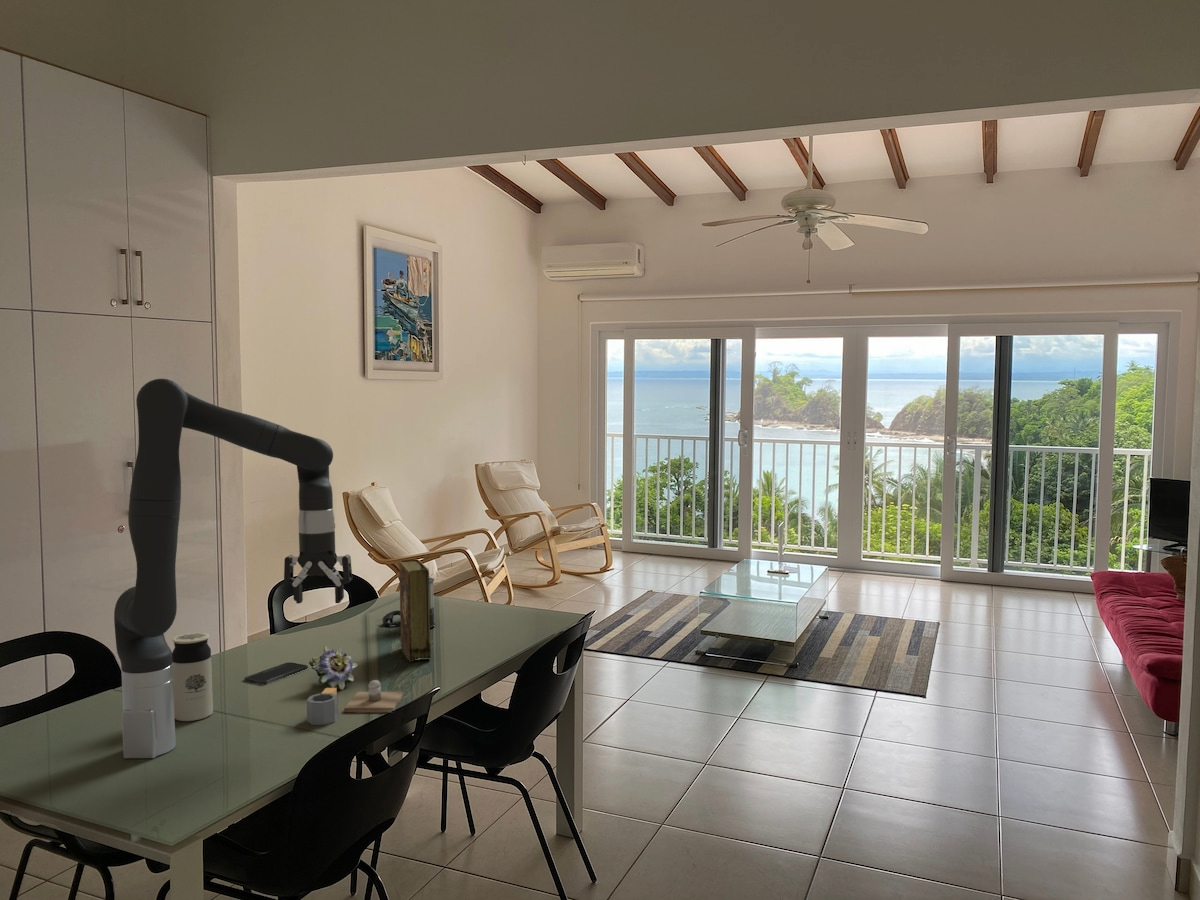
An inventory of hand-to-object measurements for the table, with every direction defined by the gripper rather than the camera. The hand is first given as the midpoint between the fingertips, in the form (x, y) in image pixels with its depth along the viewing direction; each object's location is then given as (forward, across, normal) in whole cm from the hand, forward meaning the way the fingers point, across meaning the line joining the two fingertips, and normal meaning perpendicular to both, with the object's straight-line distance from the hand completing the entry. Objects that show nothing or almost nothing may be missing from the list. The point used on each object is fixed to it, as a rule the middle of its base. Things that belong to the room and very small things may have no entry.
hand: (319, 602), depth 195 cm
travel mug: (+26, -30, +3) cm, 40 cm away
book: (+27, +11, +48) cm, 56 cm away
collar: (+26, 0, +1) cm, 26 cm away
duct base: (+26, +9, +10) cm, 29 cm away
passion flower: (+27, -5, +23) cm, 35 cm away
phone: (+27, -22, +32) cm, 47 cm away
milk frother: (+27, +3, +78) cm, 83 cm away
